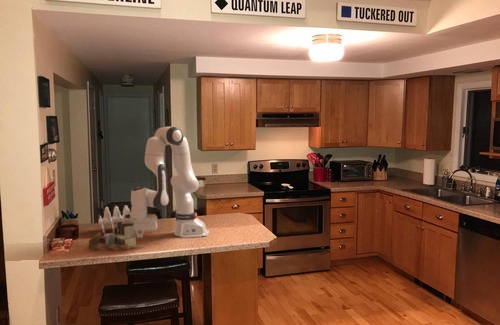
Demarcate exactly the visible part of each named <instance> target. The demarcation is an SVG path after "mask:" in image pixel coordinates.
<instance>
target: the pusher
mask: <svg viewBox="0 0 500 325" xmlns="http://www.w3.org/2000/svg"><path fill="white" fill-rule="evenodd" d="M103 237H107V238H106V243H105V245H115V244H116V243H115V237H116V235H115V232H110V233H105V234H104V235H103Z"/></svg>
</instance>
